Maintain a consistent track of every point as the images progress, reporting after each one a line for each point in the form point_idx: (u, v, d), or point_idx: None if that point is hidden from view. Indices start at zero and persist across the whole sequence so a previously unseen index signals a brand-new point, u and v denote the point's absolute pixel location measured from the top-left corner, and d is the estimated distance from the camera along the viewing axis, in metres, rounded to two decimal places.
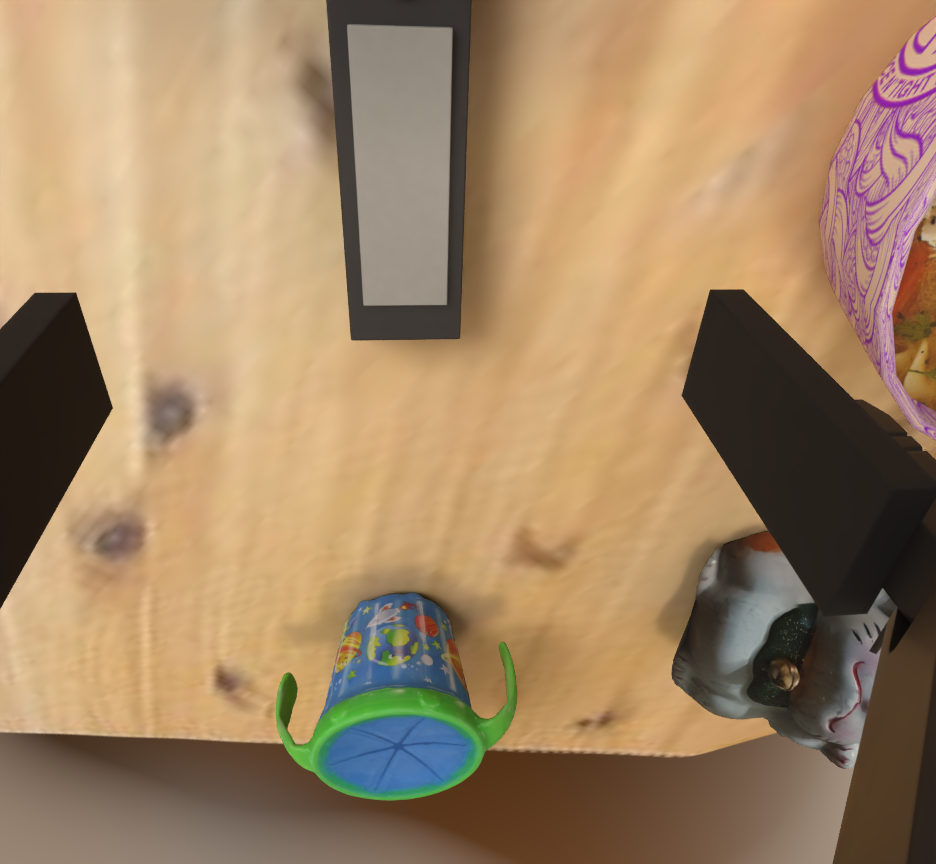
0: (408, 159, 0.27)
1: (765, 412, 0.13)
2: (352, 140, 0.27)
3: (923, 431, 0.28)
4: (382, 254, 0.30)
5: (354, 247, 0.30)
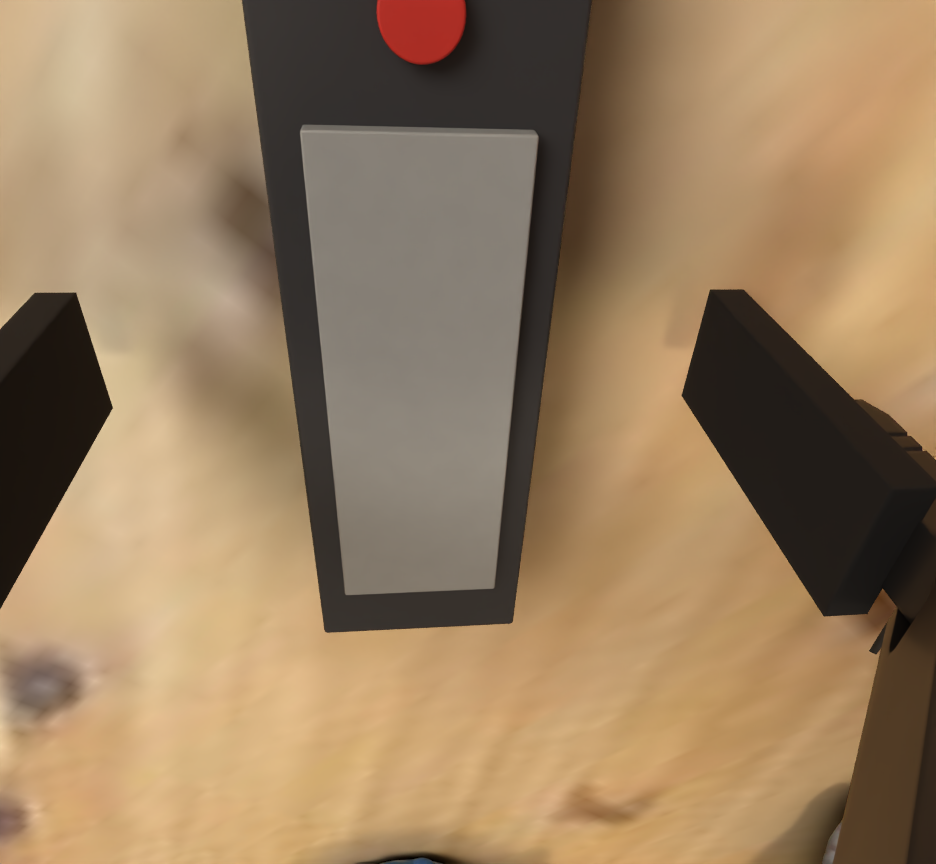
0: (432, 378, 0.14)
1: (765, 412, 0.13)
2: (319, 343, 0.13)
3: None
4: (379, 524, 0.16)
5: (327, 510, 0.16)
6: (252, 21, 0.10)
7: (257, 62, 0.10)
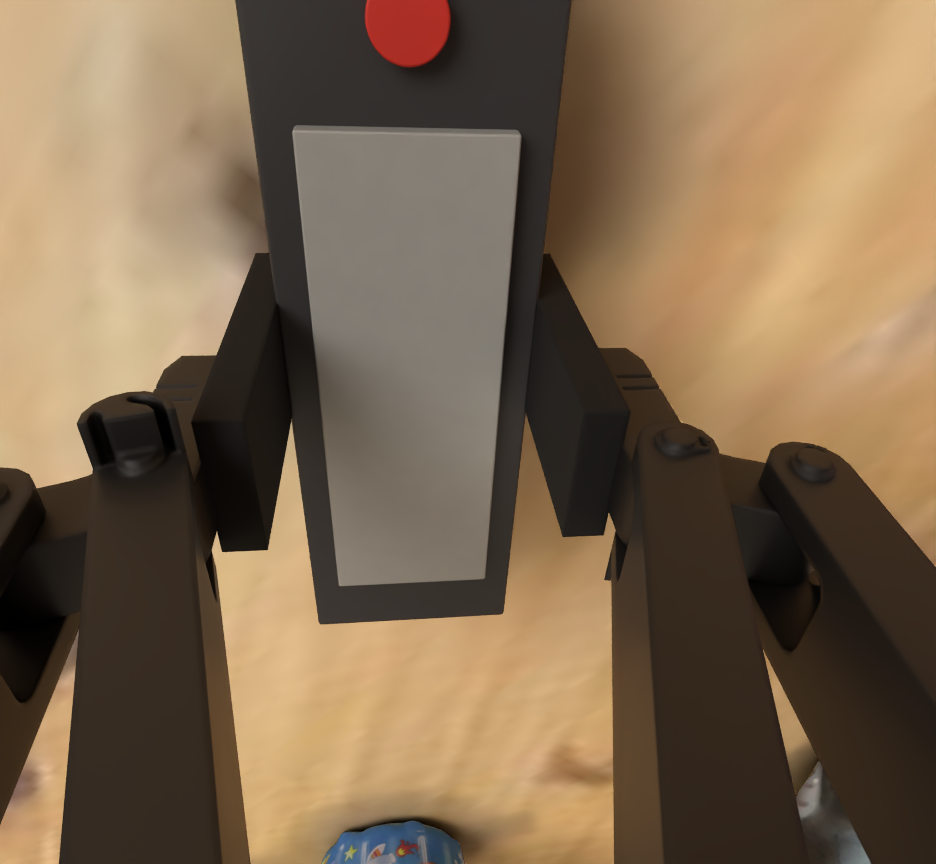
0: (422, 371, 0.14)
1: (539, 359, 0.14)
2: (311, 337, 0.14)
3: None
4: (371, 515, 0.16)
5: (321, 501, 0.16)
6: (246, 26, 0.11)
7: (251, 65, 0.11)
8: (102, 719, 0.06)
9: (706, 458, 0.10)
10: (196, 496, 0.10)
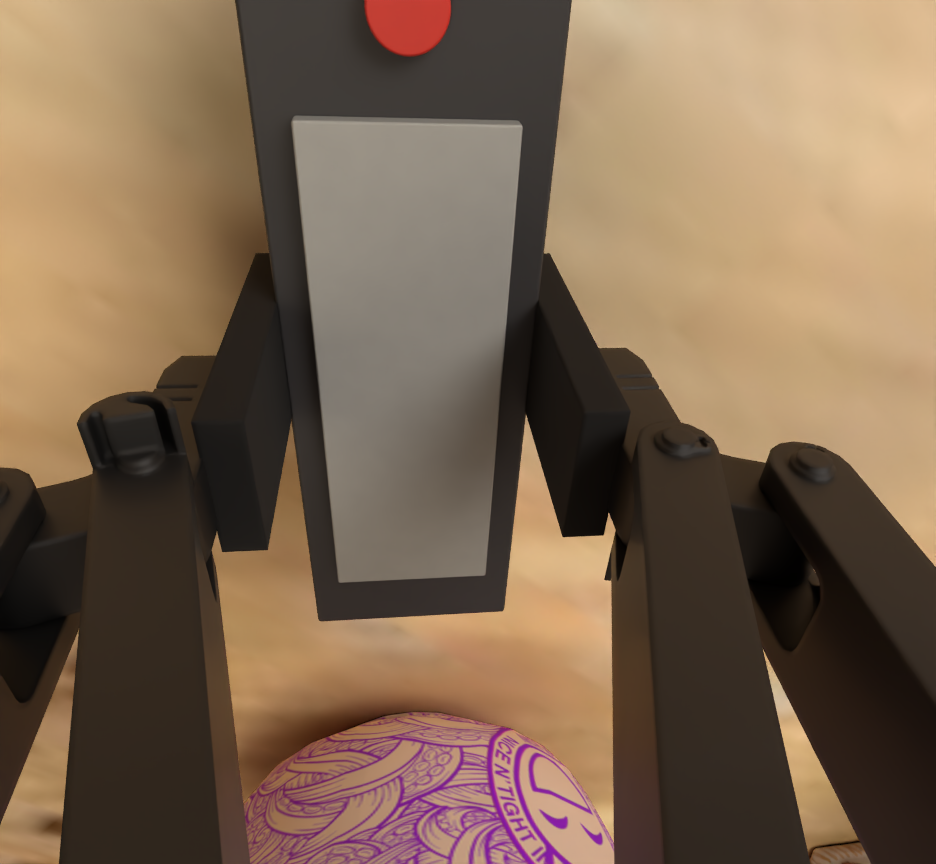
0: (422, 365, 0.14)
1: (539, 359, 0.14)
2: (311, 330, 0.14)
3: None
4: (371, 511, 0.16)
5: (320, 497, 0.16)
6: (244, 15, 0.10)
7: (249, 54, 0.11)
8: (102, 719, 0.06)
9: (706, 458, 0.10)
10: (196, 496, 0.10)
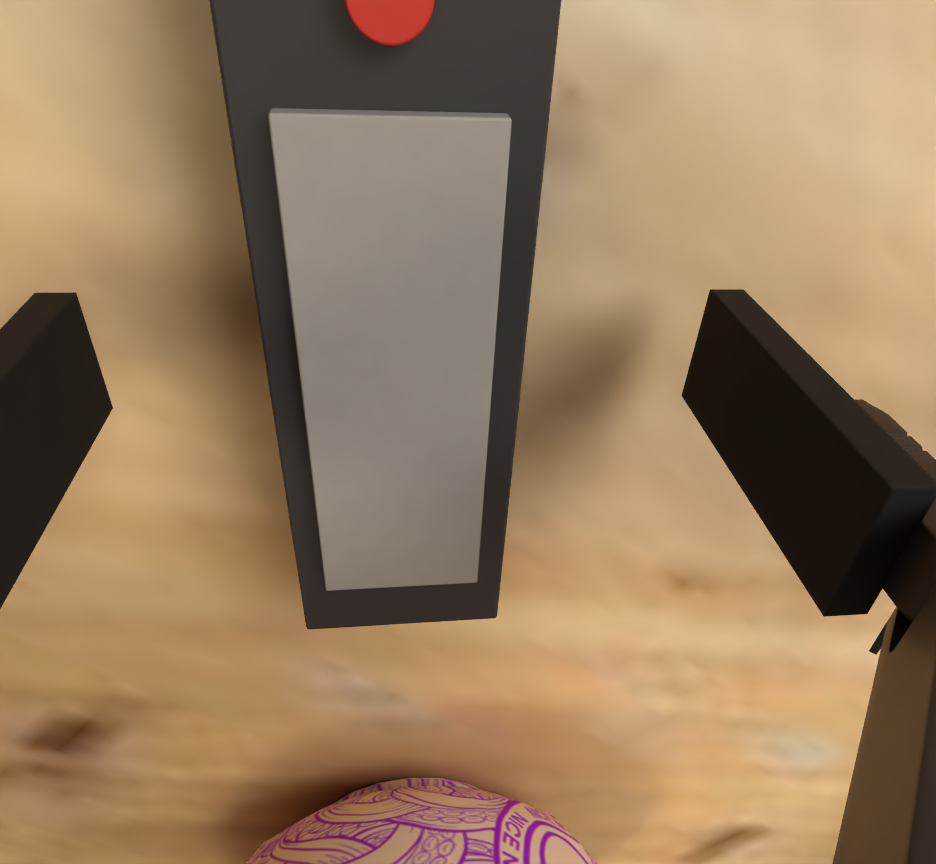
0: (409, 368, 0.13)
1: (765, 412, 0.13)
2: (293, 332, 0.13)
3: None
4: (359, 518, 0.16)
5: (306, 504, 0.16)
6: (217, 1, 0.10)
7: (223, 43, 0.10)
8: None
9: None
10: None
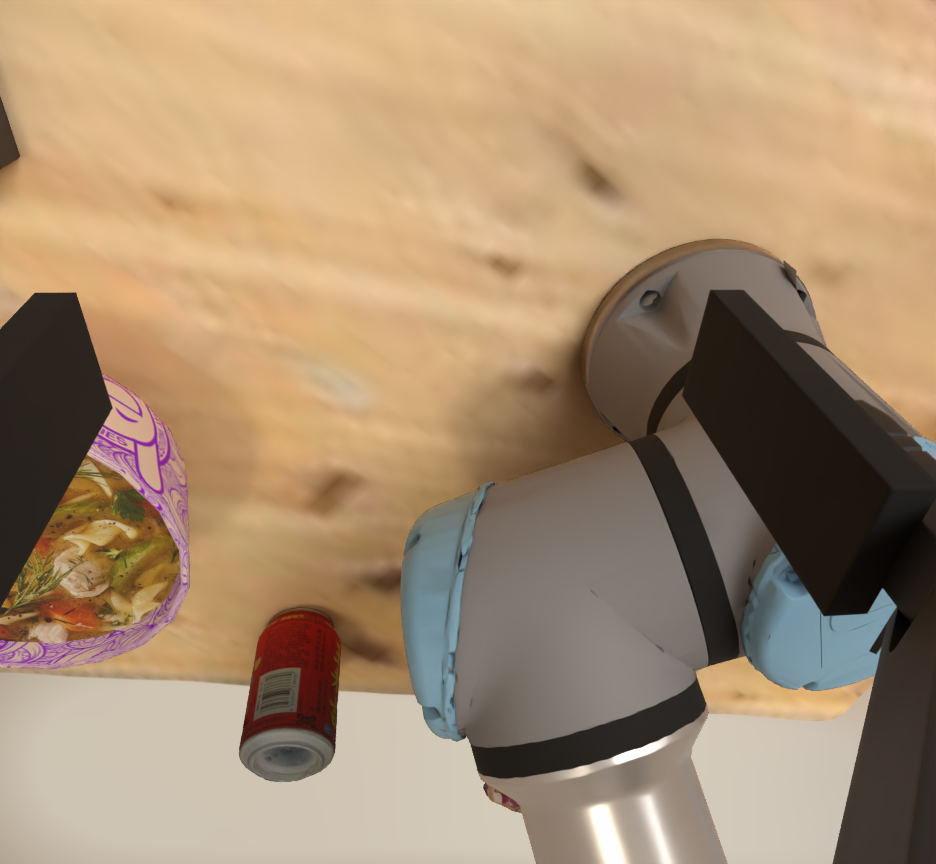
0: None
1: (765, 412, 0.13)
2: None
3: None
4: None
5: None
6: None
7: None
8: None
9: None
10: None
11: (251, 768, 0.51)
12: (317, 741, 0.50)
